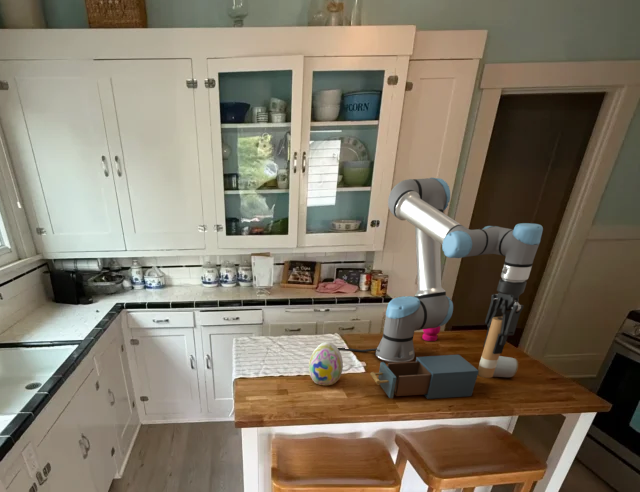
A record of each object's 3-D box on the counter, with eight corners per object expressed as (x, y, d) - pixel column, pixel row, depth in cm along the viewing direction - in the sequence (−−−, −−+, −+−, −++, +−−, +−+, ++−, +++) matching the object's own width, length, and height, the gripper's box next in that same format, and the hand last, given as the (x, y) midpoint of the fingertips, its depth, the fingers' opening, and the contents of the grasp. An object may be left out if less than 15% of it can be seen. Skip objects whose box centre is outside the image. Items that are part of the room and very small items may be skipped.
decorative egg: (304, 385, 155) (306, 347, 147) (312, 371, 164) (314, 334, 156) (337, 390, 151) (341, 351, 143) (344, 376, 161) (347, 338, 152)
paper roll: (473, 374, 149) (489, 318, 138) (480, 369, 152) (496, 314, 141) (489, 379, 146) (506, 322, 135) (495, 374, 149) (513, 318, 138)
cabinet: (427, 399, 145) (433, 373, 139) (411, 381, 156) (416, 356, 151) (471, 396, 146) (479, 370, 140) (452, 378, 157) (458, 354, 152)
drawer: (377, 399, 144) (380, 378, 139) (365, 382, 154) (368, 362, 150) (430, 395, 145) (435, 375, 141) (416, 379, 155) (420, 359, 151)
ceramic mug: (514, 381, 154) (521, 361, 150) (490, 379, 155) (496, 360, 151) (506, 369, 163) (512, 350, 159) (483, 367, 164) (488, 349, 160)
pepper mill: (436, 342, 186) (446, 296, 175) (419, 339, 189) (428, 294, 178) (439, 337, 191) (449, 292, 180) (423, 334, 194) (432, 290, 183)
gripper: (485, 273, 139) (468, 340, 152) (519, 287, 124) (496, 361, 136) (507, 271, 139) (488, 339, 152) (544, 286, 124) (519, 360, 137)
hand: (492, 349), depth 144 cm, fingers closed on paper roll, 5 cm apart
